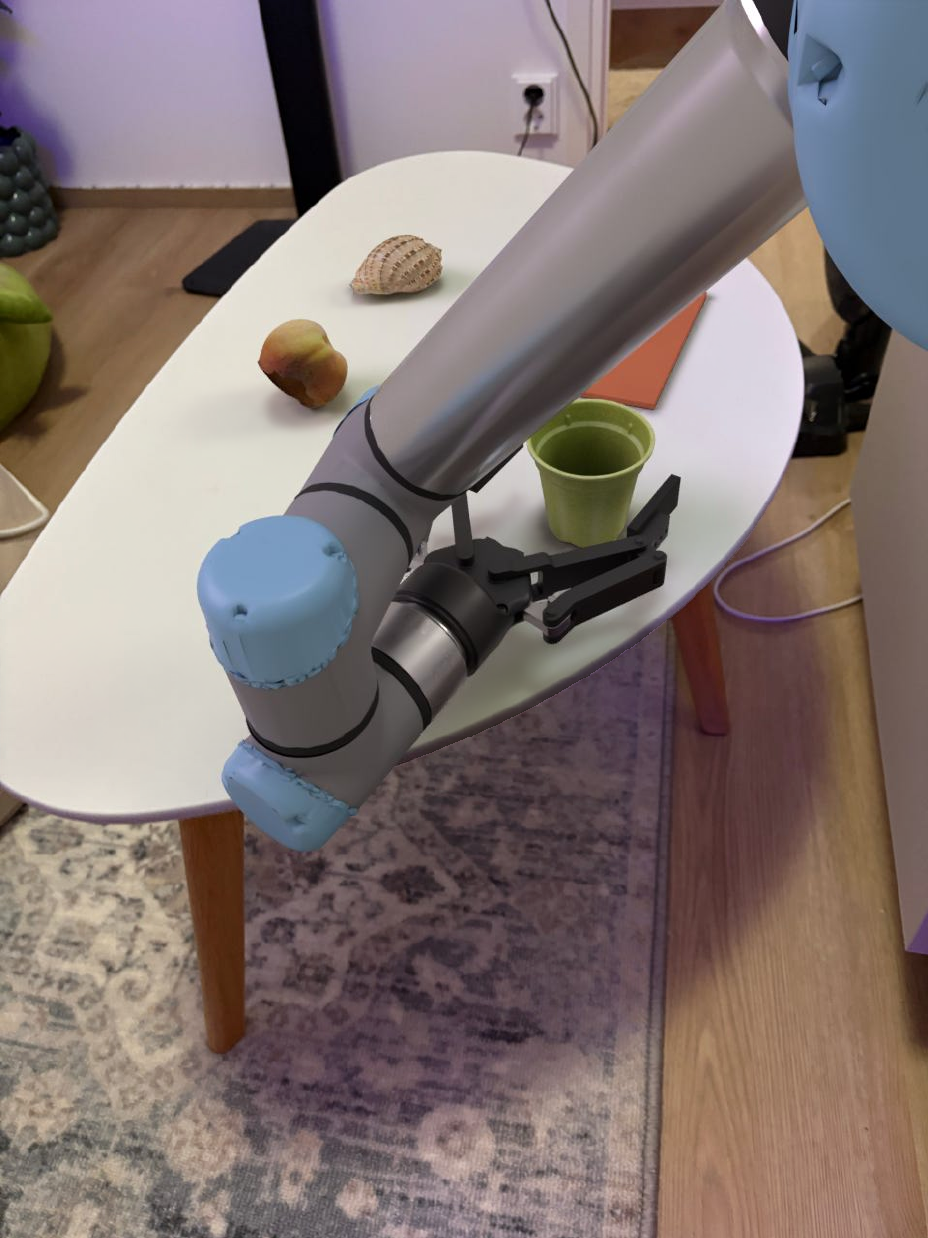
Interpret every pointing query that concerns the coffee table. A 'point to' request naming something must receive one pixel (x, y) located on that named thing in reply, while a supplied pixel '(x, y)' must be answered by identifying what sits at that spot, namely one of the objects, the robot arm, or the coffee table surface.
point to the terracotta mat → (647, 364)
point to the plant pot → (591, 468)
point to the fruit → (303, 363)
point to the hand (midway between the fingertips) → (593, 459)
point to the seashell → (398, 267)
